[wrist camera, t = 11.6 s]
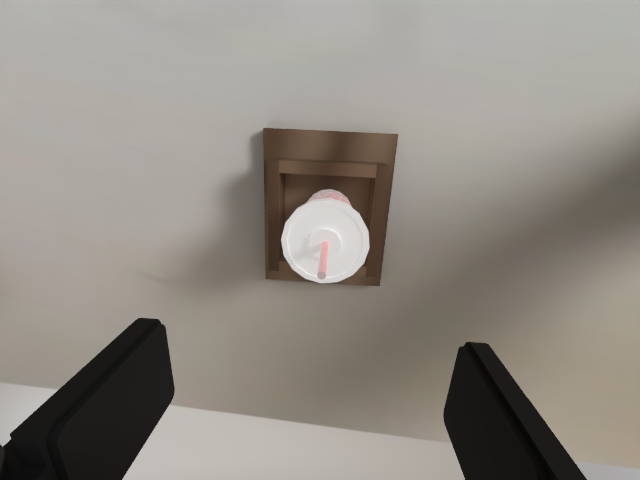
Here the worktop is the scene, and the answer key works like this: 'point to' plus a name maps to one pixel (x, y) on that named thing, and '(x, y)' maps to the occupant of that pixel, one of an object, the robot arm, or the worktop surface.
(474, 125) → the worktop surface
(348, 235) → the beverage cup
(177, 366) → the worktop surface
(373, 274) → the cup holder
